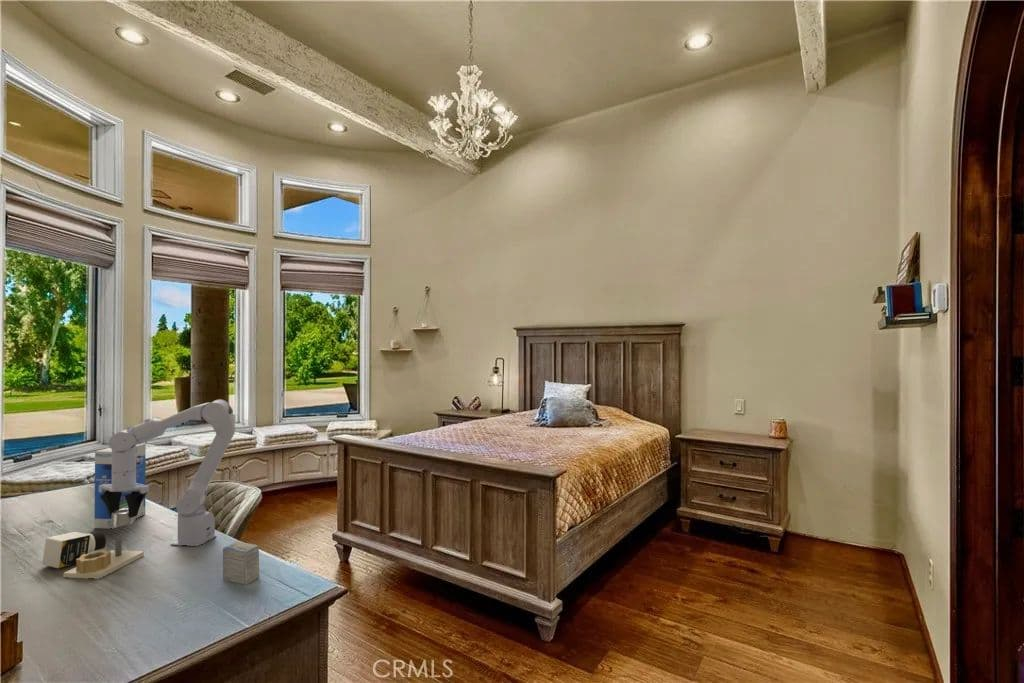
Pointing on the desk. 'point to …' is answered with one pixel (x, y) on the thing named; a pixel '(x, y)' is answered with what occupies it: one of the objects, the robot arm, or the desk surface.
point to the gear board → (102, 562)
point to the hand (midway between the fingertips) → (123, 516)
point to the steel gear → (121, 518)
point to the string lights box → (105, 477)
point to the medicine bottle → (71, 547)
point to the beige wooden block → (240, 562)
